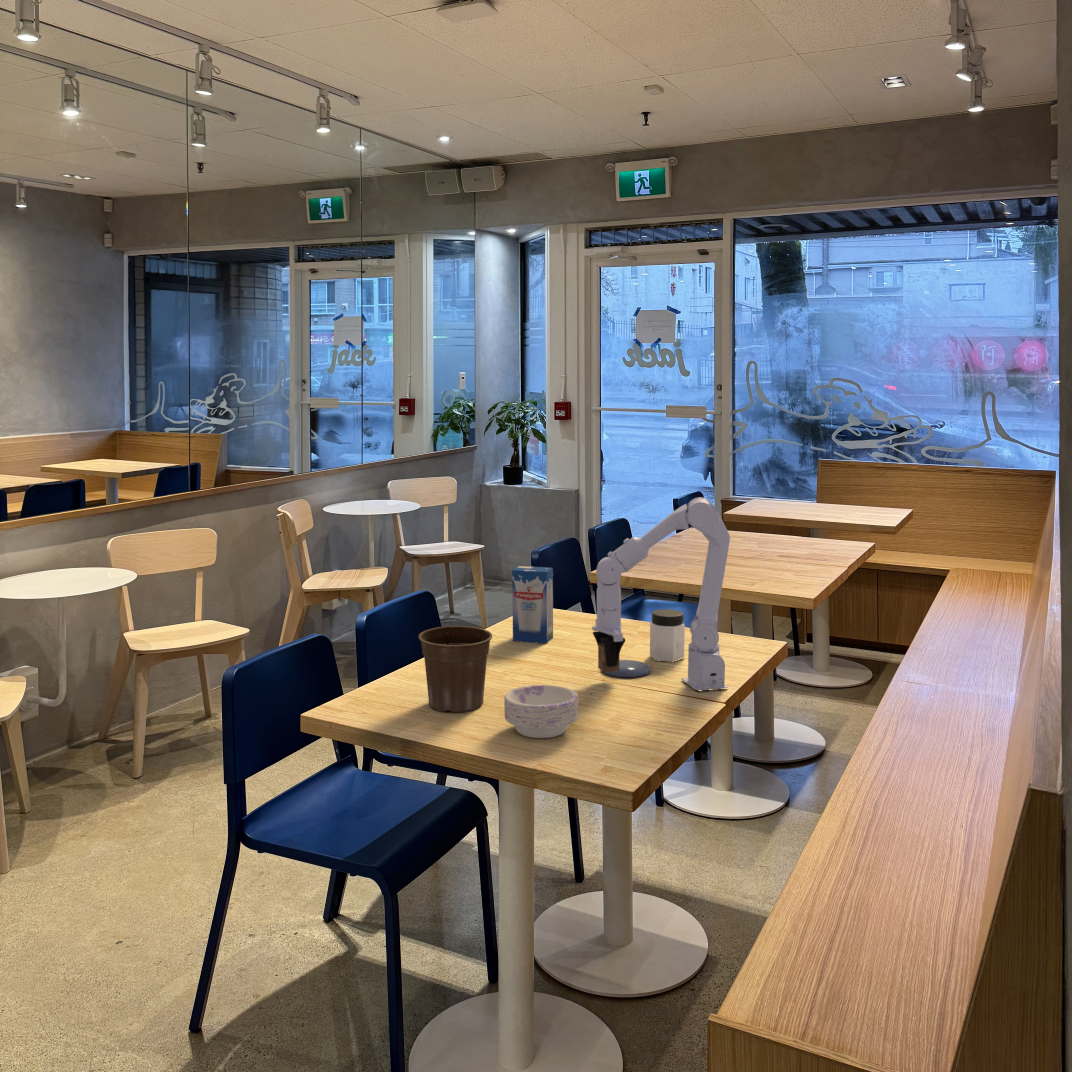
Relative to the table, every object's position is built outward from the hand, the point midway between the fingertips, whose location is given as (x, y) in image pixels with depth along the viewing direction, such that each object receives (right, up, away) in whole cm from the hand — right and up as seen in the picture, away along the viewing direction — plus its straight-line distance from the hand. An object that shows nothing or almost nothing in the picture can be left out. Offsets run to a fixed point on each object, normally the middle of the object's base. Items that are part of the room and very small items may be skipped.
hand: (608, 663), depth 238 cm
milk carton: (-18, +1, +39) cm, 43 cm away
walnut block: (0, -1, 0) cm, 2 cm away
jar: (+17, -1, +20) cm, 26 cm away
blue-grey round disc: (+5, -3, +9) cm, 11 cm away
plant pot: (-35, -8, -15) cm, 39 cm away
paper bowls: (-16, -10, -32) cm, 37 cm away
